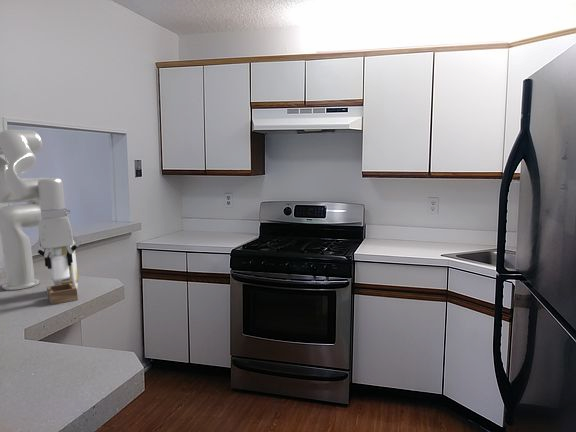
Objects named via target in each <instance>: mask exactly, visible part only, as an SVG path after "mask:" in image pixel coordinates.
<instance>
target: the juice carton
mask: <svg viewBox="0 0 576 432" xmlns="http://www.w3.org/2000/svg"><path fill="white" fill-rule="evenodd" d="M74 244H75V241H74V240H73V244H72V245H71V246H70V247H72V246H73V245H74ZM59 248H61V249H62V255H66V254H67V252H68V251H67V250H66V248H65V247H59ZM54 249H55V248H52V249H50V250H49V255H50V256H49V257H50V258H51V257H53V256H55V255H54ZM66 256H67V255H66ZM72 260H73V263H71V266H69V274H70V277H69V278H67V279H63V280H58V281H54V280H52V282H53V286H55V285H61V284H67V283H72V284H73V285H74V286H75V287H76V288H77V289H78V287H79V278H78V277H79V276H78V274H79V273H78V266H77V257H76V250H75V251H74V252H73V253H72Z"/></svg>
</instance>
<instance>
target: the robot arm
mask: <svg viewBox="0 0 576 432" xmlns="http://www.w3.org/2000/svg"><path fill="white" fill-rule="evenodd" d="M42 147H43V140H42V138H41V136H40V134H39V133H38V132H37V131H35V130H33V129H6V130H3V131H1V132H0V204H10V205H6V206H2V207H0V239H1V247H2V253H3V254H2V256H3V263H4V265H3V266H4V272H5V281H6V283H4V284H3V285H2V286H1V287H2V289H3V290H4V291H14V290H15V291H17V290H23V289H24V290H25V289H29V288H32V287H36V286H38V285H39V284H41V283H40V279H37V278H35V270H34V262H33V261H34V259H33V252H32V251H34V252H36V253H38V254H39V255H41V256H42V257H43V258H44V266H45V267H46V268H48V270H50V268H51V264H50V258H51V257H50V256H49V255H50V249H52V248H59V247H65V248H66V250H67V251H68V252H67V254H66V255H67V257H68V265H69V266H71V263H73V260H72V253H73V252H74V251H75V252H76V250H77V248H78V247H79V246H80V245H81V243H82V241H81V240H79V239H78V238H77V237H76V236H74V234H73V229H72V225H71V221H70V219H69V216H67V215H69V214H71V209H67V208H66V202H65V194H64V193H65V192H64V184H63V180H62V178H60V177H20V176H19V175H21V174H23V173H26V172H28V171H29V170H31V169H32V168H33V167H34V166H35V165H36V164H37V157H36V156H35V154H36V153H38V152H40V151H41V150H42ZM1 155H2V156H3V155H4V157H5V158H6V159H4V158H3V157H1ZM16 203H23V204H16ZM33 228H38V239H37V240H36V241H35V243H34V244H33V246H32V244H31V240H30V239H31V238H30V237H29V236H28V235H27V234H26V233H25V232H24V231H23V230H25V229H26V230H27V229H33ZM73 240H74V245H73V246H72V247H70V246H71V245H72V244H73ZM39 247H41V248H42V249H43V250H42V249H40V248H39Z"/></svg>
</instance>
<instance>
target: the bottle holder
mask: <svg viewBox="0 0 576 432" xmlns="http://www.w3.org/2000/svg"><path fill="white" fill-rule="evenodd" d="M46 292H47V293H46V294H47V300H48V301H49V302H50V304H51V305H52V306H53V305H59V304H64V303H69V302H75V301H78V300H79V298H78V288H76V287H75V286H74V285H73V284H72V283H67V284H61V285H51V286H46Z"/></svg>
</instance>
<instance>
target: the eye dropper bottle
mask: <svg viewBox="0 0 576 432" xmlns="http://www.w3.org/2000/svg"><path fill="white" fill-rule="evenodd" d="M54 255H55V256H53V257H50V264H51V268H50V269H49V270H50V279H51V280H52V281H53V280H54V281H58V280H63V279H67V278H69V277H70V274H69V265H68V257H67V256H66V255H62V249H61V248H55V249H54Z"/></svg>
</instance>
